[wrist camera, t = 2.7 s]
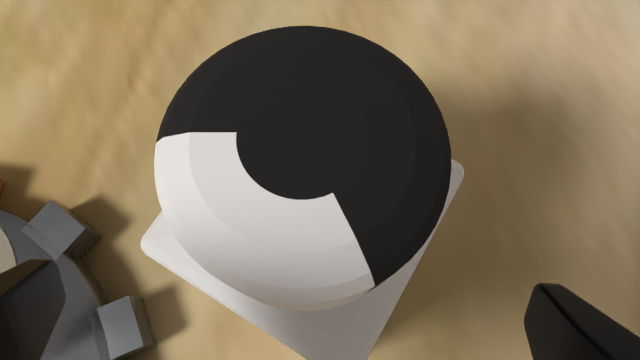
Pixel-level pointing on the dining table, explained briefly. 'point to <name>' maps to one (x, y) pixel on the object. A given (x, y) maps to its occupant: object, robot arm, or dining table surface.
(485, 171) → the dining table surface
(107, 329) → the sprocket plate
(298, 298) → the medicine bottle
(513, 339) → the dining table surface
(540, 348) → the robot arm
